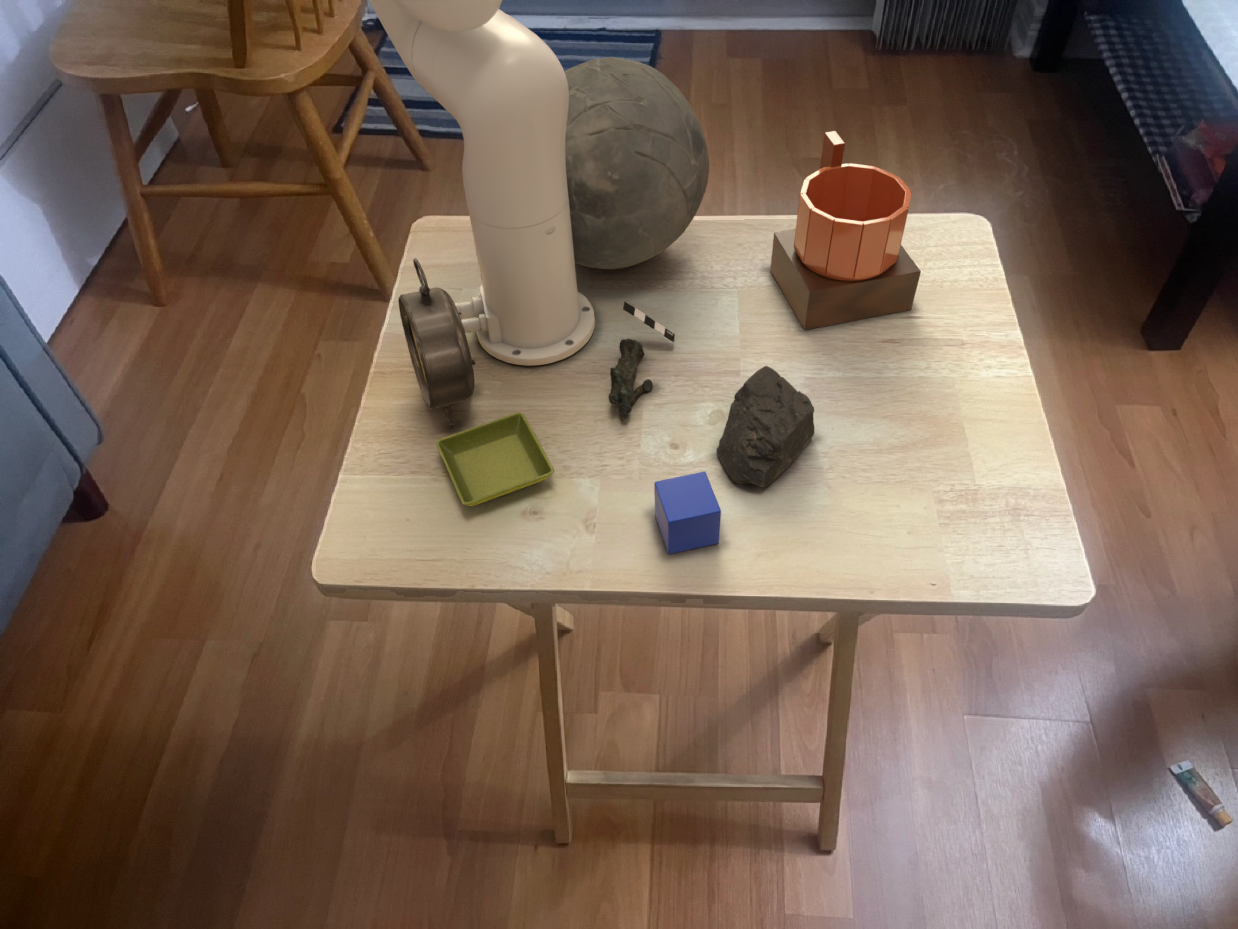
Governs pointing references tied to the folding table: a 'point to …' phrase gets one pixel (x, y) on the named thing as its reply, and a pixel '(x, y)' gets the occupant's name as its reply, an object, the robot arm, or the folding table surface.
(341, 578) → the folding table surface
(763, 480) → the rock
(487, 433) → the green rectangular tray
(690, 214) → the grey scuffed sphere
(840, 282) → the stand
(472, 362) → the alarm clock
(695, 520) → the cube
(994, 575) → the folding table surface
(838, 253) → the orange stave bucket
